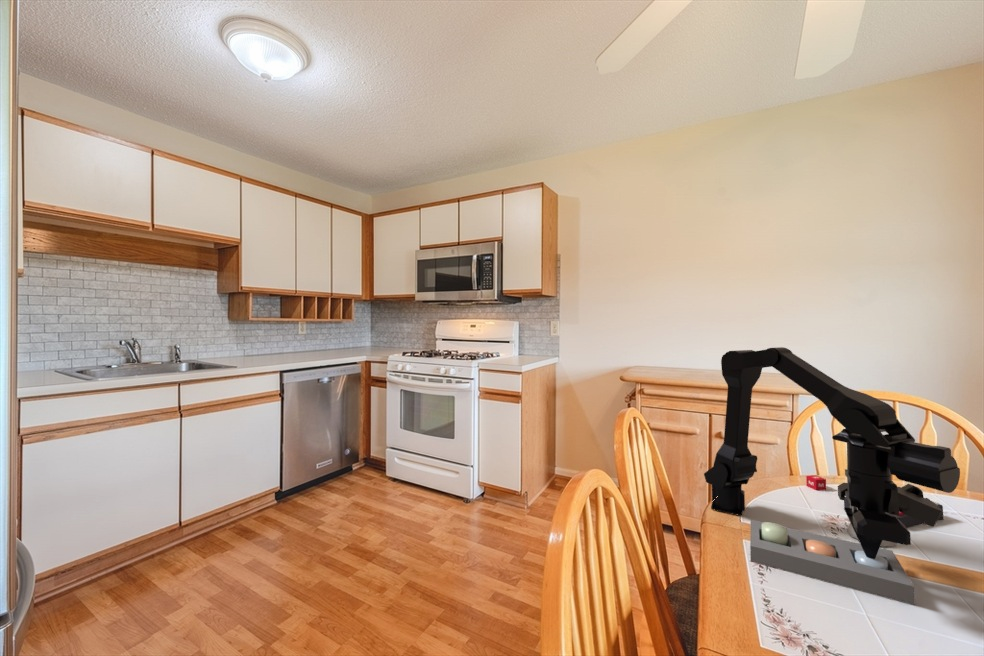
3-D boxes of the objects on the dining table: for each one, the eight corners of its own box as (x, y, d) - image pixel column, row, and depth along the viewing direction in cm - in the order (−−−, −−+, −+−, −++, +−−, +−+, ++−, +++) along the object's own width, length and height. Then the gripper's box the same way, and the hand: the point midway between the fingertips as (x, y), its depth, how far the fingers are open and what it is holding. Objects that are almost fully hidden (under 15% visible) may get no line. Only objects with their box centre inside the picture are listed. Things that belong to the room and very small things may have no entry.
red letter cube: (816, 490, 106) (816, 479, 106) (806, 486, 109) (806, 475, 109) (826, 490, 106) (826, 479, 106) (816, 485, 109) (816, 475, 109)
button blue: (857, 577, 69) (857, 559, 69) (852, 565, 72) (852, 548, 72) (891, 585, 66) (890, 567, 66) (884, 572, 70) (883, 555, 70)
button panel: (750, 561, 75) (750, 545, 75) (750, 533, 84) (750, 519, 84) (914, 605, 62) (914, 586, 62) (892, 566, 72) (892, 550, 72)
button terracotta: (807, 564, 73) (807, 547, 73) (805, 553, 76) (804, 537, 76) (837, 572, 70) (836, 554, 70) (833, 560, 74) (832, 543, 74)
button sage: (762, 545, 77) (761, 529, 77) (761, 535, 80) (761, 520, 80) (788, 551, 74) (788, 535, 74) (787, 541, 78) (786, 525, 78)
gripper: (958, 500, 57) (961, 606, 57) (915, 463, 73) (916, 546, 73) (857, 484, 64) (858, 579, 63) (836, 453, 79) (838, 529, 79)
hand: (870, 557), depth 69 cm, fingers closed, pressing on button blue
